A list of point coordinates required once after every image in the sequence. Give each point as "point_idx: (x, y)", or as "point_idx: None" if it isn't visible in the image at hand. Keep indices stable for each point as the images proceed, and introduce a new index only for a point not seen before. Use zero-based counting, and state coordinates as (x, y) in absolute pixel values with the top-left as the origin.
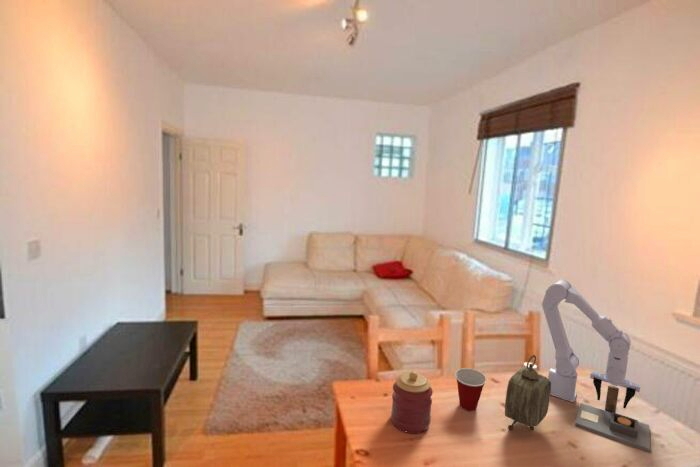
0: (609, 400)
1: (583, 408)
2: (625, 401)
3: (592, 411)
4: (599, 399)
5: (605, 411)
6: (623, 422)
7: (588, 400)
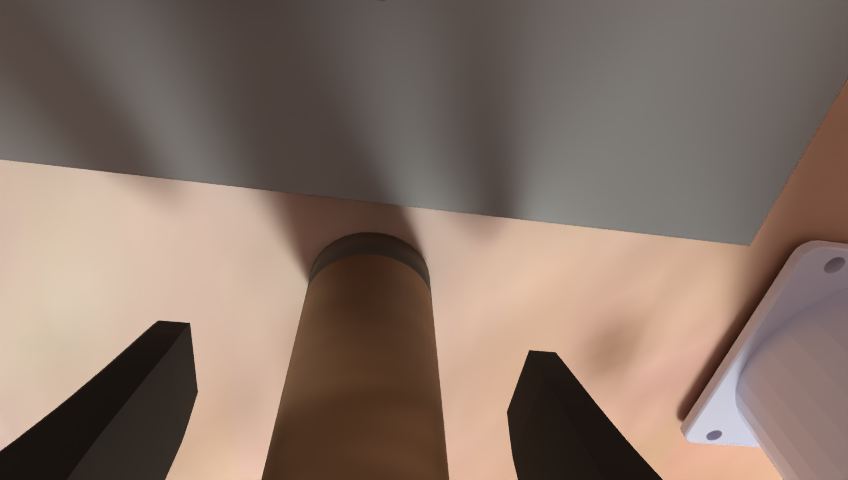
0: (402, 372)
1: (778, 93)
2: (94, 423)
3: (652, 75)
4: (539, 361)
5: (442, 192)
6: None
7: (579, 374)
